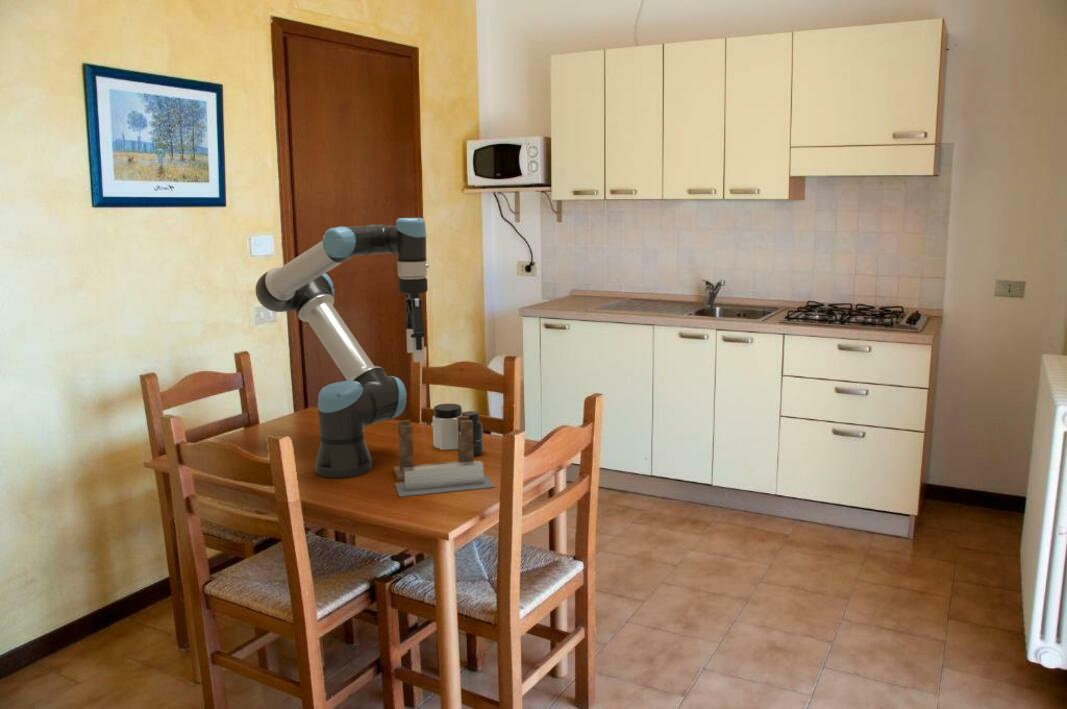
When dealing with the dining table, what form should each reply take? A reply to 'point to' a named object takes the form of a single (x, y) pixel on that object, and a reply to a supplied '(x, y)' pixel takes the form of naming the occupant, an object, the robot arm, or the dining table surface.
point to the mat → (442, 488)
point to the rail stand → (408, 461)
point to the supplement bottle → (476, 432)
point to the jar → (446, 426)
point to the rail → (443, 475)
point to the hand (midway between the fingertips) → (415, 357)
